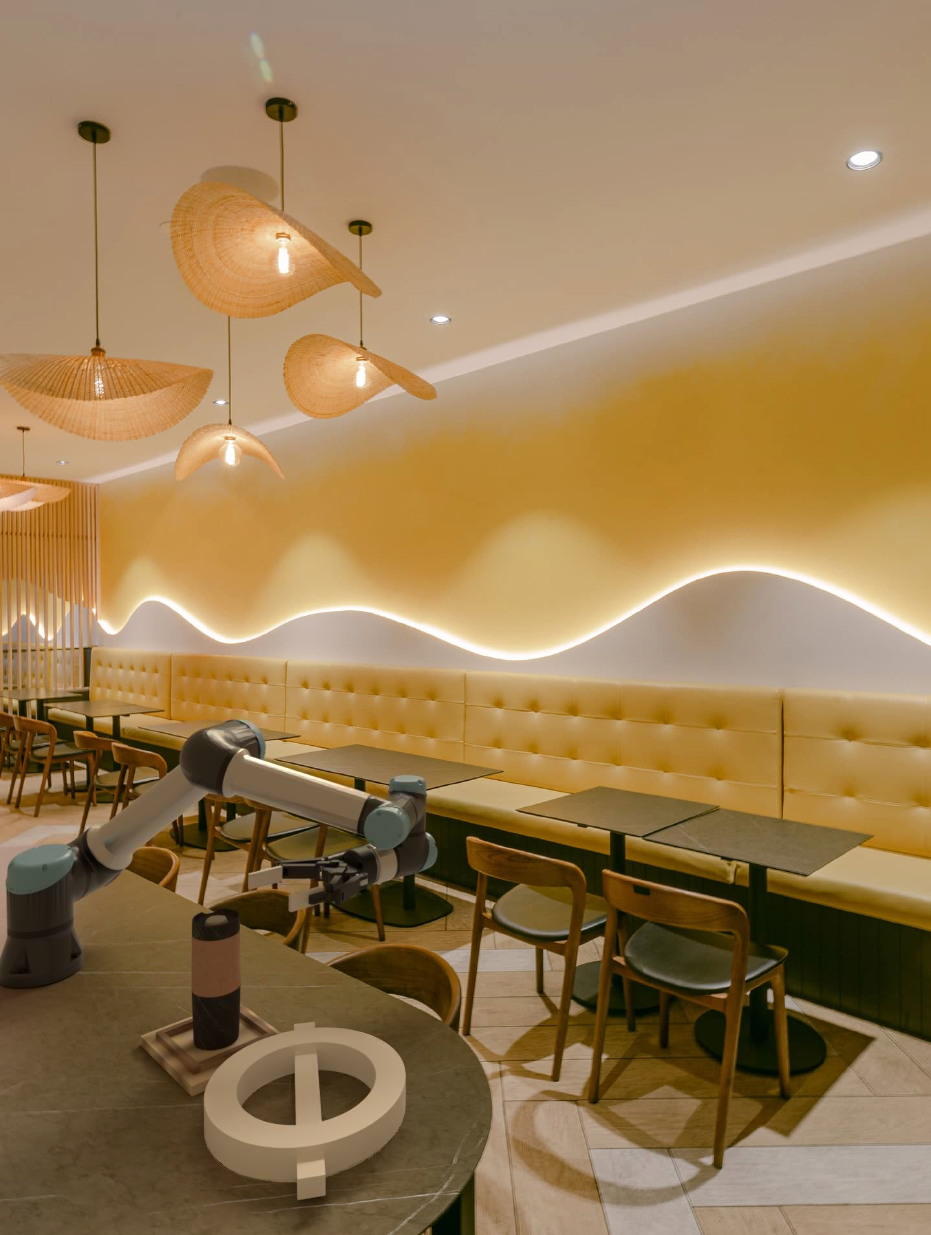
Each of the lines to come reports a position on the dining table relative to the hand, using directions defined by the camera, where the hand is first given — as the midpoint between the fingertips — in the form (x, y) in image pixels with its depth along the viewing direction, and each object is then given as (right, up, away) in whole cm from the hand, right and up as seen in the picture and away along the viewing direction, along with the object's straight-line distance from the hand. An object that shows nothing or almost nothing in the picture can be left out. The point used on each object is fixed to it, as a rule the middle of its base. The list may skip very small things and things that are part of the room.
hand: (268, 892), depth 134 cm
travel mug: (-7, -22, -7) cm, 24 cm away
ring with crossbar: (+11, -24, -23) cm, 35 cm away
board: (-7, -23, -7) cm, 25 cm away
